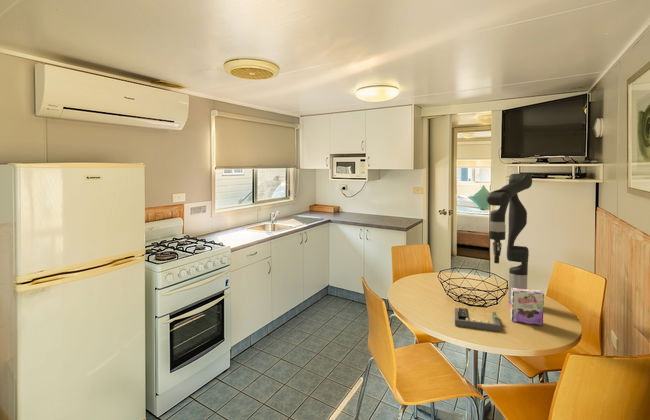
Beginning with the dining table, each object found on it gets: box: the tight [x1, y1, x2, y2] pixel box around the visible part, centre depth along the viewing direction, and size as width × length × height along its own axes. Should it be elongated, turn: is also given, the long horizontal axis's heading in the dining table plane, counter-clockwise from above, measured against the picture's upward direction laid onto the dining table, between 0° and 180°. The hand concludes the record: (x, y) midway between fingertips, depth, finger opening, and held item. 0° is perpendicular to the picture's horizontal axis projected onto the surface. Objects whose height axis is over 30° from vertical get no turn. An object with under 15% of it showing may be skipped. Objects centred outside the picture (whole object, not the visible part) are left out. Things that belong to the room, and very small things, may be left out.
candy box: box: [509, 288, 545, 326], centre depth 171 cm, size 14×6×16 cm, turn 68°
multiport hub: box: [458, 307, 468, 320], centre depth 180 cm, size 4×14×2 cm, turn 157°
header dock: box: [454, 307, 502, 333], centre depth 170 cm, size 20×20×4 cm
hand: (496, 263), depth 176 cm, fingers closed
